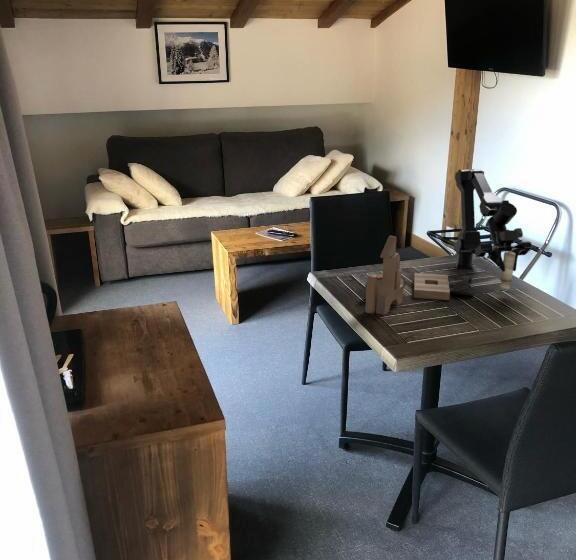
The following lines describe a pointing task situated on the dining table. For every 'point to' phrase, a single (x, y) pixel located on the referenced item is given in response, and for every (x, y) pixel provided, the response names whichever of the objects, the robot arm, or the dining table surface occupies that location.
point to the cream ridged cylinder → (507, 269)
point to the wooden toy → (385, 282)
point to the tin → (379, 278)
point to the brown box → (431, 286)
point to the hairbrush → (463, 287)
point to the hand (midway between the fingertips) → (509, 271)
